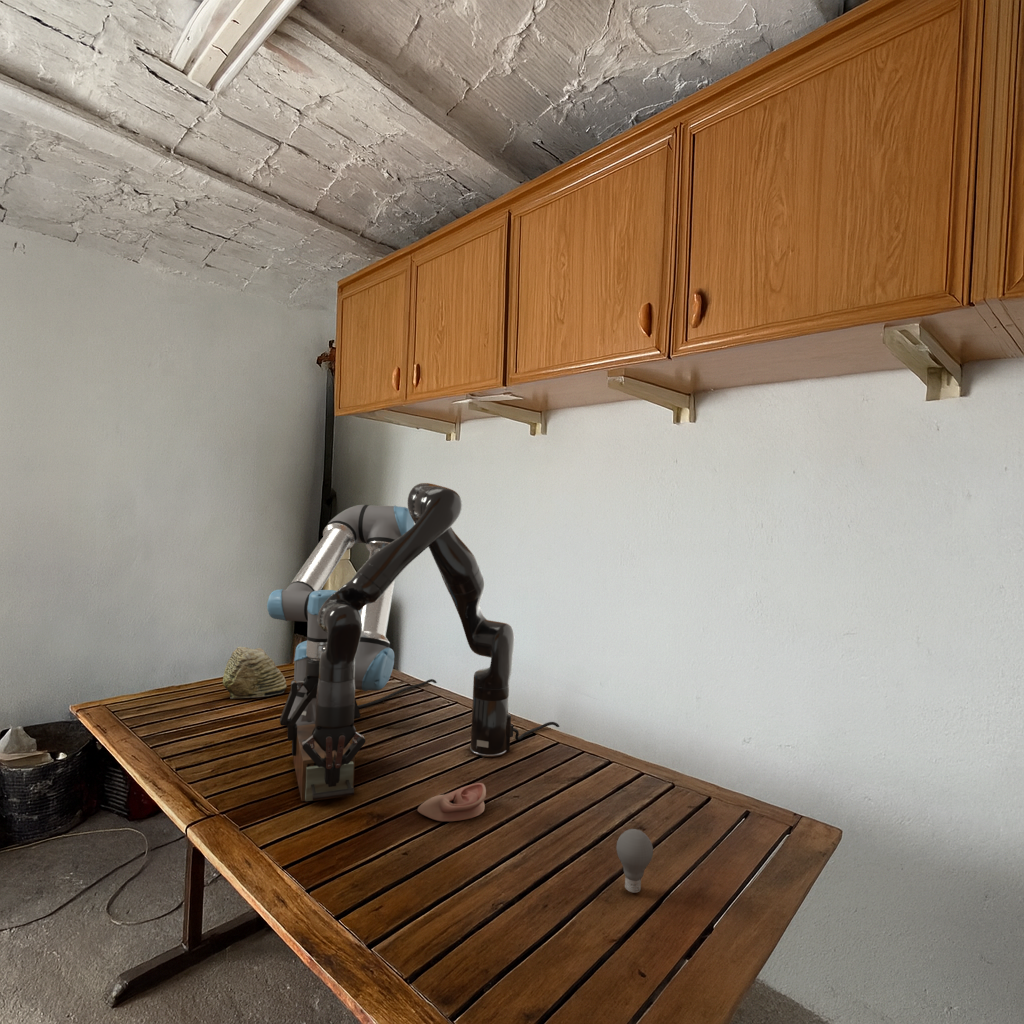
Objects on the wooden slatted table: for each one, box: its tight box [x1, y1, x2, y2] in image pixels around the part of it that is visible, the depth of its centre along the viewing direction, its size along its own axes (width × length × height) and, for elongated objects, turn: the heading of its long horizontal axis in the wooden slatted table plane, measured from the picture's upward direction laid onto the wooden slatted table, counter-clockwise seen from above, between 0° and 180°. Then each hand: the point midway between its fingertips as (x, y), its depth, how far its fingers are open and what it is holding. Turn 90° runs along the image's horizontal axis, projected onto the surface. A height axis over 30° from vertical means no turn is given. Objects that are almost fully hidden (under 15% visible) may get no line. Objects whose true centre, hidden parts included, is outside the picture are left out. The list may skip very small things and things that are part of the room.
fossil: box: [222, 646, 288, 699], centre depth 198 cm, size 9×18×15 cm, turn 132°
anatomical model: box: [417, 782, 487, 822], centre depth 131 cm, size 13×4×12 cm
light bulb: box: [615, 828, 654, 894], centre depth 106 cm, size 6×6×10 cm
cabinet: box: [293, 724, 356, 802], centre depth 143 cm, size 21×11×9 cm, turn 23°
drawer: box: [305, 761, 355, 802], centre depth 138 cm, size 25×9×7 cm, turn 23°
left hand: (319, 750), depth 148 cm, fingers closed on cabinet, 11 cm apart
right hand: (331, 784), depth 128 cm, fingers closed
